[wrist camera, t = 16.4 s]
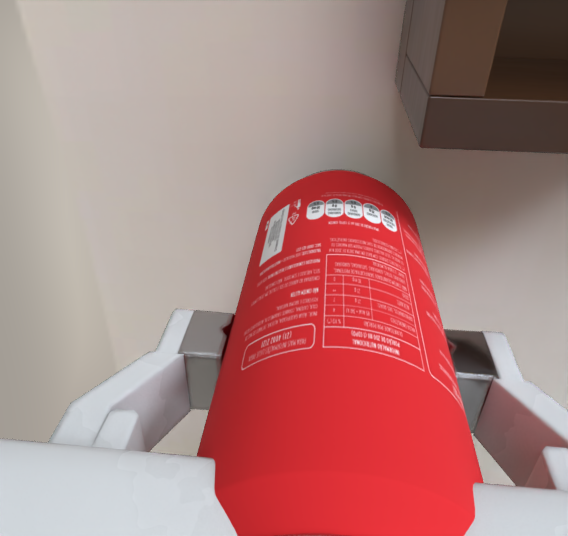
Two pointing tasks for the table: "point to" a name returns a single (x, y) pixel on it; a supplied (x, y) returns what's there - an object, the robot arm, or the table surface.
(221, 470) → the beverage can
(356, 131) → the table surface
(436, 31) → the divided wooden box
